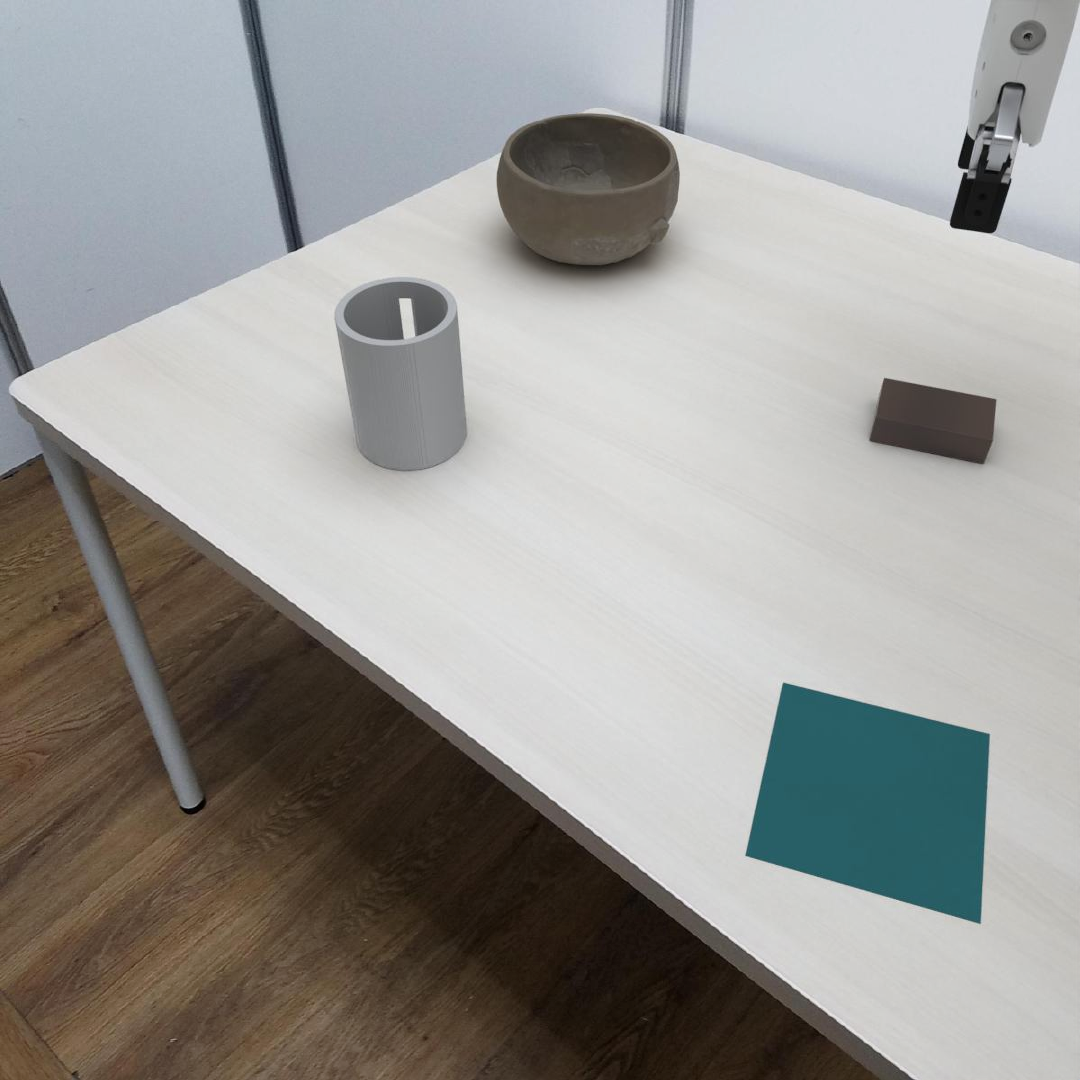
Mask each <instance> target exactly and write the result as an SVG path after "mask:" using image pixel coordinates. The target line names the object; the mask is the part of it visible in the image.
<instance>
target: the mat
mask: <svg viewBox="0 0 1080 1080" xmlns="http://www.w3.org/2000/svg"><path fill="white" fill-rule="evenodd" d="M781 686H782V687H781V690H780V695H779V699H778V703H777V704H778V705H777V708H776V714H775V718H774V723H773V727H772V732H771V736H770V741H769V745H768V749H767V750H768V751H767V754H766V759H765V764H764V768H763V772H762V778H761V781H760V785H759V791H758V796H757V801H756V806H755V810H754V814H753V818H752V824H751V829H750V833H749V837H748V842H747V847H746V852H745V857H748V858H752V859H755V860H759V861H761V862H765V863H768V864H772V865H776V866H778V867H782V868H786V869H789V870H793V871H797V872H800V873H803V874H806V875H811V876H813V877H817V878H821V879H824V880H828V881H831V882H835V883H838V884H842V885H845V886H848V887H852V888H855V889H859V890H862V891H865V892H869V893H871V894H872V893H873V894H876V895H879V896H883V897H886V898H890V899H893V900H897V901H899V902H904V903H907V904H911V905H914V906H917V907H920V908H924V909H928V910H931V911H934V912H937V913H941V914H945V915H948V916H952V917H955V918H959V919H962V920H965V921H969V922H972V923H976V924H981V922H982V906H983V905H982V903H983V881H984V864H985V844H986V843H985V841H986V821H987V820H986V819H987V803H988V802H987V800H988V779H989V776H988V775H989V756H990V738H991V735H990V733H987V732H984V731H979V730H975V729H971V728H968V727H964V726H960V725H955V724H952V723H947V722H944V721H939V720H936V719H931V718H927V717H923V716H920V715H915V714H912V713H907V712H903V711H899V710H896V709H892V708H887V707H884V706H879V705H874V704H873V703H872V704H871V703H867V702H863V701H859V700H856V699H852V698H847V697H844V696H839V695H836V694H831V693H827V692H824V691H819V690H815V689H811V688H807V687H804V686H799V685H795V684H791V683H787V682H782V685H781Z"/></svg>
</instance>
